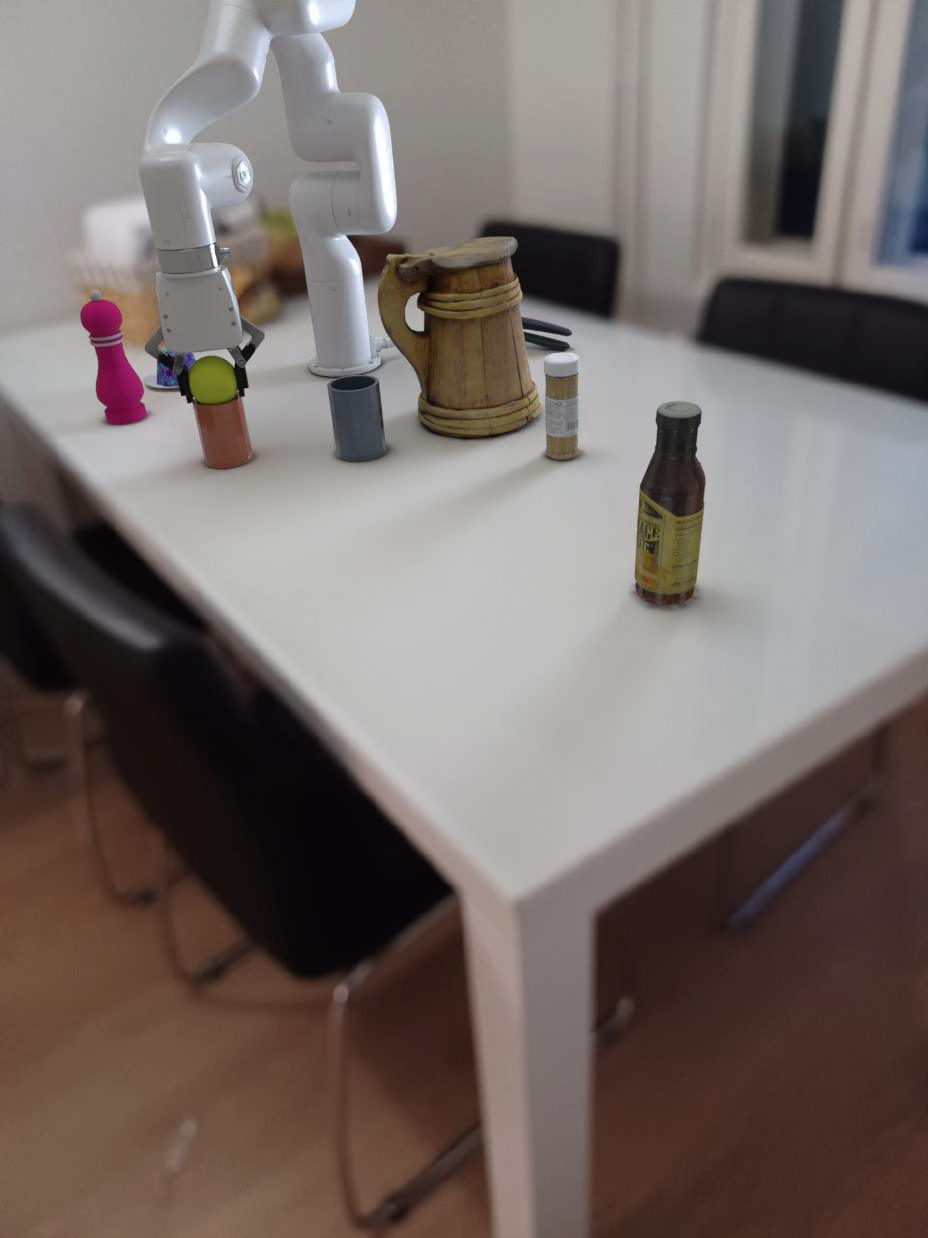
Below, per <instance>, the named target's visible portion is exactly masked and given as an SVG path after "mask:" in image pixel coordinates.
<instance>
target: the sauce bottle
mask: <svg viewBox="0 0 928 1238" xmlns="http://www.w3.org/2000/svg"><path fill="white" fill-rule="evenodd" d="M702 413H703V411H702V408H701V407H700V406H699V405H698V404H696V403H695V402H689V401H684V400H673V401H667V402H664V403H662V404H660V405H659V406H658V407H657V409H656V415H655V424H656V438H655V446H654V451H653V454H652V456H651V458H650V460H649V462H648V465H647V467H646V470H645V472H644V475H643V477H642V479H641V482H640V484H639V490H638V491H639V492H638V507H637V508H638V509H637V522H636V523H637V524H636V537H635V539H636V541H635V543H636V544H635V560H634V575H633V576H634V580H635V585H634V586H635V591H636V593H637V594H638V595H639V597H641V598H642V599H643V600H646V601H647V602H648V603H651V604H653V605H668V606H669V605H678V604H682V603H684V602H687V601H688V600H690V599H691V598H692V597H693V594H694V592H695V586H696V584H697V579H698V571H699V562H700V554H701V553H700V552H701V542H702V533H703V523H704V513H705V492H706V485H707V484H706V483H707V480H706V478H707V477H706V474H705V470H704V468H703V466H702V463H701V461H700V460H699V459H698V457H697V452H698V445H697V444H698V435H699V427H700V426H701V424H702Z"/></svg>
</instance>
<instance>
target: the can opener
mask: <svg viewBox="0 0 928 1238" xmlns="http://www.w3.org/2000/svg"><path fill="white" fill-rule="evenodd" d="M521 320H522V326H523V330H527V331H533V332H534V331H535V332H541V333H546V334H551V335H557V336H563V337H571V336H572V335H573V332H572V330H571V329H570V328H568V327H564V326H562V325H558V324H555V323H552V322H547V321H545V320H539V319H535V318H532V317H531V318H530V317H524V316H521ZM527 331H524V338H525V343H529V344H533V345H535V346H538V347H542V348H546V349H550V350H559V351H566V350H567V351H568V350H569V349H570V348H571V345H570V343H569V342H567V341H564V340H562V339H561V340H560V339H557V338H554V337H553V338H552V337H549V336H545V335H542V334H538V333H537V334H536V333H532V332H527Z"/></svg>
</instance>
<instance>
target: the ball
mask: <svg viewBox="0 0 928 1238" xmlns="http://www.w3.org/2000/svg"><path fill="white" fill-rule="evenodd" d="M233 365H234V364H232V363H231V362H230V361H229V360H227V359H225V358H224V357H222V356H218V355H205V356H202V357H200V358H198V359H196V361H195V362H194V363H193V365H192V366H191V368H190V370H189V372H188V382H189V387H190V391H191V394H192V396H193V399H194V398H195V399H196V400H197V401H198V402H200V403H201V404H203V405H219V404H224V403H228V402H230V401H232V400H233V399H234V397H235V396H236V394H237V392H239V391H238V386H237V381H236V375H235V370H234V366H233Z"/></svg>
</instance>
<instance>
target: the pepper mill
mask: <svg viewBox="0 0 928 1238" xmlns="http://www.w3.org/2000/svg"><path fill="white" fill-rule="evenodd" d="M88 294H89V295H88V296H89V299H90V301H88V302H86V303H85V304H84V305H83V306H82V307H81V309H80V313H79V318H80V323H81V326H82V328H83V329H84V330H86V331H87V332H88V333H89V335H88V339H89V340H90V341H89V344H90V345H91V346H92V347H93V348H94V351H95V354H96V358H97V374H96V379H95V380H96V381H95V393H96V399H97V400H98V401H99V403H101V404H102V406H103V405H104V406H105V409H104V410H103V412H104V415H105V419H106V422H107V423H108V424H111V425H118V426H119V425H120V426H121V425H129V424H133V423H136V422H140V421H142V420H143V419H145V418H146V417H147V414H148V412H147V408H146V405H145V403H144V402H143V401H142V399H143V397H144V395H145V387H144V383H143V381H142V380H141V378H140V376H139V374H138V373H137V372H136V370H135V369H134V367H133V366H132V365H131V363H130V361H129V359H128V358H127V355H126V352H125V349H124V345H123V342H124V341H125V337H124V335H123V331H122V330H121V326H122V323H123V315H122V311H121V309H120V308H119V307H118V305H117V304H115V303H114V302H113V301H112V300H111V301H110V300H108V299H103V295H102V292H101V291H100V290H98V289H92V290H90V291H89V293H88Z"/></svg>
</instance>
